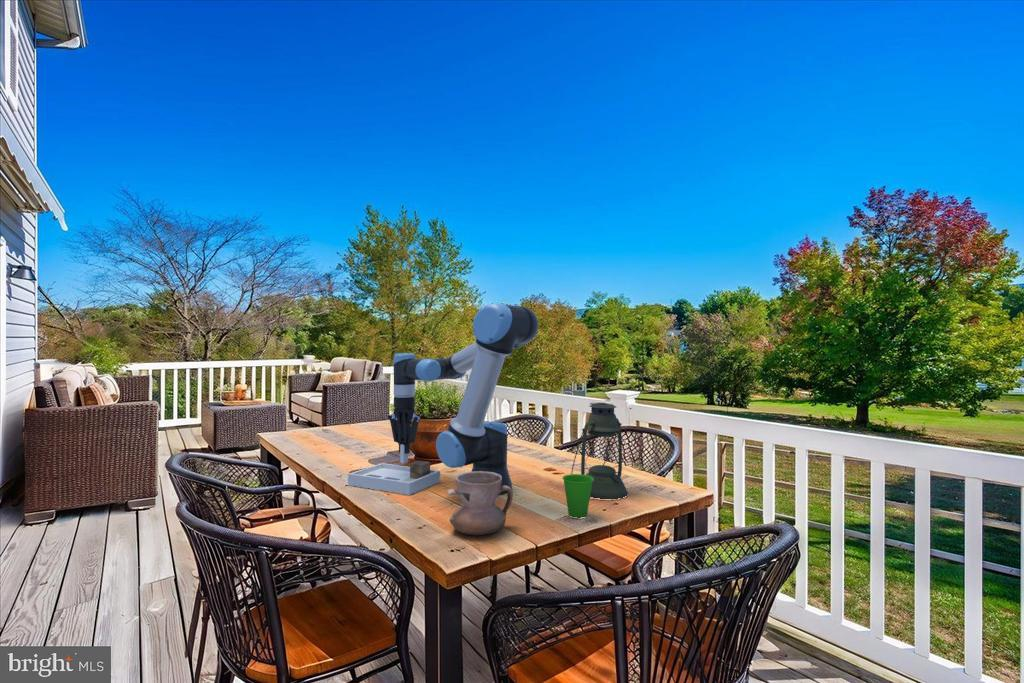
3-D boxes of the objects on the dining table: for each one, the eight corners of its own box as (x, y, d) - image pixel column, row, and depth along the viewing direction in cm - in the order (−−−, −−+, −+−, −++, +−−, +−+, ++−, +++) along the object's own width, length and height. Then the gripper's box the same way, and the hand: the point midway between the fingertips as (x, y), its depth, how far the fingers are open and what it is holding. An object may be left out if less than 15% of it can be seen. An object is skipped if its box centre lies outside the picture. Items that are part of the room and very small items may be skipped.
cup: (595, 521, 140) (596, 482, 140) (563, 521, 140) (563, 482, 140) (591, 511, 149) (591, 474, 149) (560, 510, 149) (561, 473, 149)
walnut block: (430, 476, 177) (430, 462, 177) (421, 479, 172) (421, 465, 173) (418, 474, 179) (418, 460, 179) (409, 477, 175) (410, 463, 175)
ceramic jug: (451, 543, 124) (452, 486, 124) (442, 523, 137) (443, 471, 138) (520, 536, 129) (521, 481, 129) (505, 517, 143) (506, 467, 143)
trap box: (440, 482, 179) (440, 470, 179) (409, 495, 162) (409, 483, 162) (382, 473, 190) (382, 463, 190) (348, 485, 173) (348, 473, 173)
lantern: (601, 505, 155) (602, 408, 155) (560, 491, 168) (561, 402, 169) (641, 493, 168) (642, 403, 168) (601, 481, 181) (601, 399, 182)
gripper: (425, 396, 180) (425, 462, 179) (396, 394, 185) (396, 458, 185) (413, 397, 173) (412, 466, 172) (383, 396, 178) (382, 462, 178)
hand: (404, 462), depth 179 cm, fingers closed
